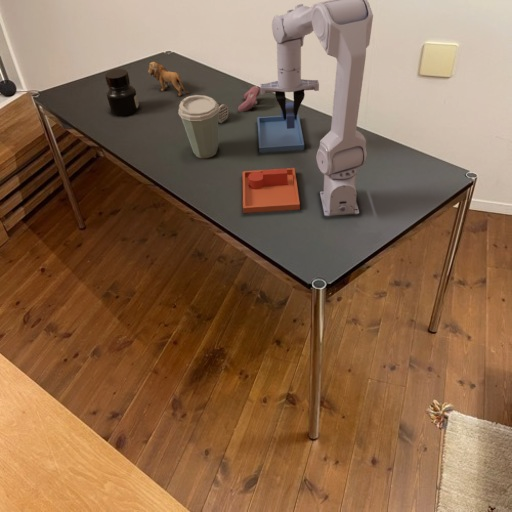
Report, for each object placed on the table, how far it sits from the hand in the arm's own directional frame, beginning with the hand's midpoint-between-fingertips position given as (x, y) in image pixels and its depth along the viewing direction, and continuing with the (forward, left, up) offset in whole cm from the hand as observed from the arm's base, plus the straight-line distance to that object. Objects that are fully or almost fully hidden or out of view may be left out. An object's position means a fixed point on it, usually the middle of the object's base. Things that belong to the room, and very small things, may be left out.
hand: (289, 117), depth 133 cm
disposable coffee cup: (+1, +23, -10) cm, 25 cm away
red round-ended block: (-17, +7, -9) cm, 20 cm away
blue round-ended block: (+2, 0, -2) cm, 2 cm away
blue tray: (+7, +2, -10) cm, 12 cm away
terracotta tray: (-20, +6, -10) cm, 23 cm away
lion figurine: (+42, +37, -10) cm, 57 cm away
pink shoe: (+27, +10, -10) cm, 30 cm away
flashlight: (+22, +25, -10) cm, 34 cm away
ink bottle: (+30, +50, -10) cm, 59 cm away
